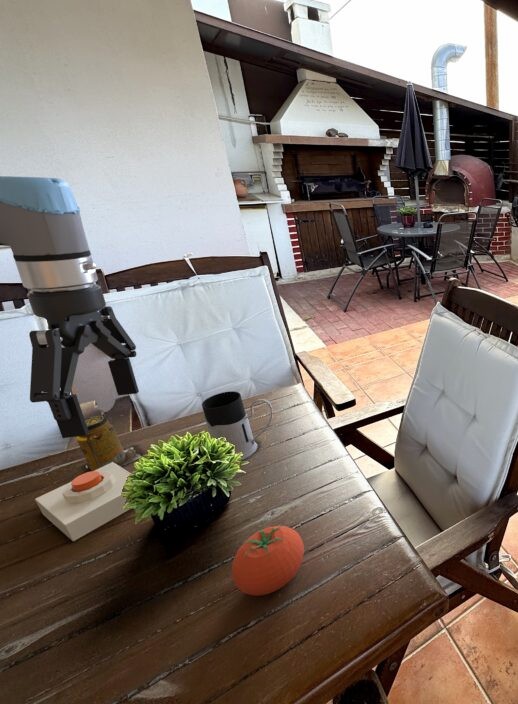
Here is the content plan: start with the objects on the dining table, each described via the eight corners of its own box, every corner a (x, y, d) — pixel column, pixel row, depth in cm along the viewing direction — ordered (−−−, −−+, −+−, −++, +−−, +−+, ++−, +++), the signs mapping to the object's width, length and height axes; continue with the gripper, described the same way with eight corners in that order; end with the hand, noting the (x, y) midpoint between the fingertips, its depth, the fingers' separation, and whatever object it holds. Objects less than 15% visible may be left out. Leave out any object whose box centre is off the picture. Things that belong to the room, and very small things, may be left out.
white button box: (43, 515, 80) (30, 491, 78) (119, 476, 90) (109, 455, 88) (73, 542, 74) (60, 517, 72) (151, 497, 84) (142, 475, 82)
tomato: (321, 563, 70) (311, 520, 67) (269, 620, 61) (254, 574, 58) (280, 544, 74) (268, 502, 70) (224, 595, 65) (208, 551, 61)
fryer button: (70, 488, 79) (67, 481, 79) (97, 475, 83) (93, 468, 82) (79, 494, 78) (76, 487, 77) (106, 481, 81) (103, 474, 80)
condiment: (85, 466, 93) (65, 423, 89) (132, 447, 100) (116, 406, 95) (94, 479, 89) (73, 434, 85) (142, 458, 96) (125, 416, 92)
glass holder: (223, 444, 101) (207, 392, 95) (285, 435, 104) (273, 385, 99) (208, 467, 93) (190, 412, 88) (276, 456, 96) (263, 403, 91)
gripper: (30, 306, 49) (81, 453, 55) (141, 270, 72) (168, 377, 78) (-54, 310, 47) (10, 463, 53) (88, 272, 69) (121, 382, 76)
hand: (104, 412), depth 66 cm, fingers open, 13 cm apart
